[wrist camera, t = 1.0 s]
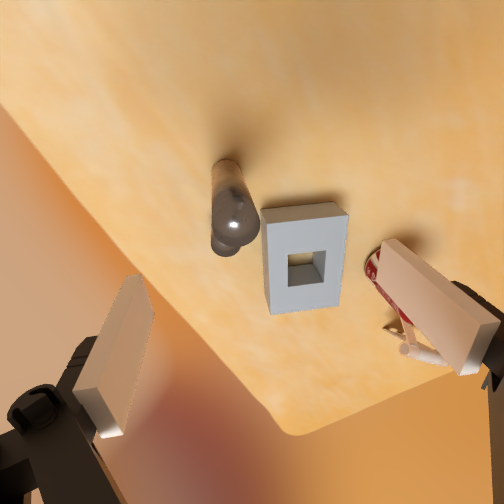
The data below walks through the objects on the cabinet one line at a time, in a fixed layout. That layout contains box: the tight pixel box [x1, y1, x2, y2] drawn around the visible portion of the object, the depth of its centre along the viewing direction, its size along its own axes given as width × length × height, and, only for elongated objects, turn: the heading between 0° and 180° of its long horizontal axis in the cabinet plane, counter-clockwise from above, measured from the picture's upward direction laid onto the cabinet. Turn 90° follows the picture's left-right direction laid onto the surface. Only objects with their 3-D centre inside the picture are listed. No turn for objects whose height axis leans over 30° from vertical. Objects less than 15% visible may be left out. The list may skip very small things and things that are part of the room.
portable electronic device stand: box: [383, 317, 449, 367], centre depth 47 cm, size 9×8×8 cm
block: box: [260, 202, 349, 315], centre depth 39 cm, size 14×10×5 cm
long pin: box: [212, 159, 260, 247], centre depth 28 cm, size 4×4×16 cm
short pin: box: [211, 224, 240, 257], centre depth 36 cm, size 4×4×5 cm
